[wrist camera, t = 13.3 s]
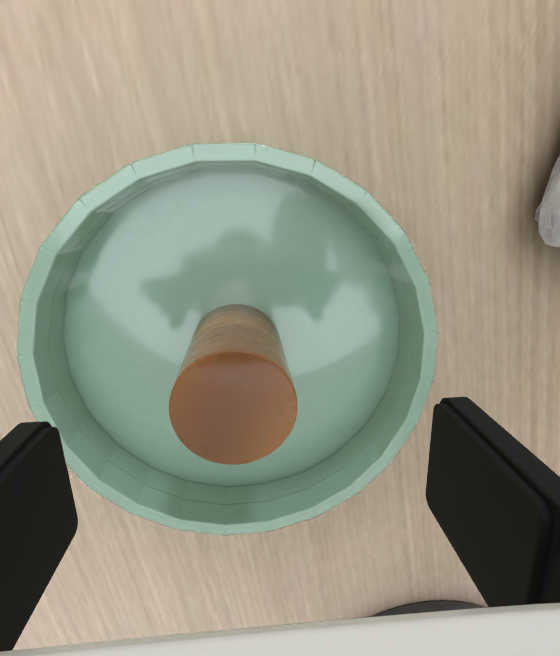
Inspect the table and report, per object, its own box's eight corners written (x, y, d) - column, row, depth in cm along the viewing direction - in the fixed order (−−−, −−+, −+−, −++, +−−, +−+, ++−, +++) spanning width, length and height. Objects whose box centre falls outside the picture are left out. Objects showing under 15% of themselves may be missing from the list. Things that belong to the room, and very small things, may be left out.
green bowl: (470, 269, 19) (515, 281, 16) (303, 526, 22) (313, 577, 19) (144, 72, 15) (119, 38, 12) (5, 414, 19) (-41, 455, 16)
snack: (296, 328, 18) (321, 383, 12) (255, 399, 19) (261, 482, 13) (216, 288, 17) (202, 327, 11) (177, 365, 18) (147, 437, 12)
